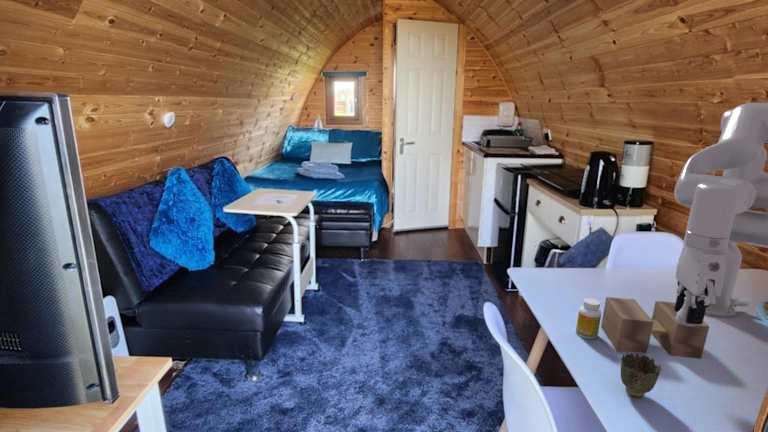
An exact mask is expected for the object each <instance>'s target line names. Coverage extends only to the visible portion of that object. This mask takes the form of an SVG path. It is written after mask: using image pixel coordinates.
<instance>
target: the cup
mask: <svg viewBox="0 0 768 432" xmlns="http://www.w3.org/2000/svg"><path fill="white" fill-rule="evenodd" d="M655 361H656V360H655V359H654V358H650V356H648V355H646V354H643V355H640V353H634V352H626V354H622V356H621V358H620V380H621V382H622V384H623V385H624V386H625V392H626V393H627V394H628V396H630V397H632V398H636V399H641V398H643V397H644V396H645V395H646V394H647V393H649V392H651V391H652V390H653V389H654V387H655V385H656V384H657V381H658V379H659V376H660V373H661V372H662V368H661V367H662V366H661V364H660V363H659V364H655Z"/></svg>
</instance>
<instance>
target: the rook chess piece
mask: <svg viewBox="0 0 768 432" xmlns="http://www.w3.org/2000/svg"><path fill="white" fill-rule="evenodd" d="M684 293H685V295H686V297H685V298H684V299H685V301H684V304H683V307H682V308H681V309H680V311H678V312H677V314H676V315H677V316H676V317H675V318H676V320H677V322H679V323H680V324H682V325H685V326H690V327H693V326H696V325H698V324H688V323H686V316H687V312H688V308H689V306H691V303H692V293H691V292H690V291H689V290H688V289H687V290H686V291H684ZM700 294H701V293H700ZM699 298H700V297H698V299H699ZM698 301H699V300H698ZM698 301H697V302H698Z"/></svg>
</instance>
